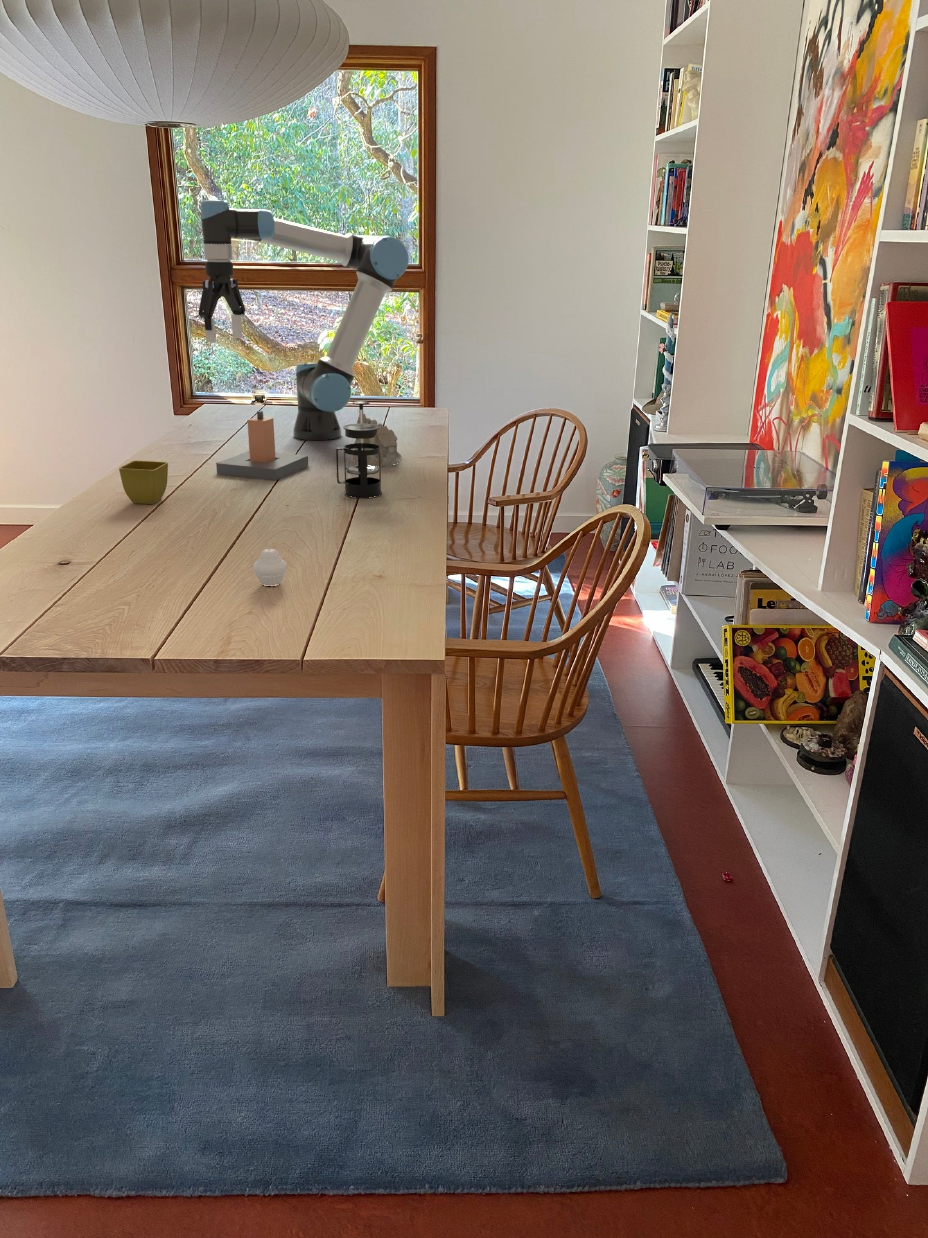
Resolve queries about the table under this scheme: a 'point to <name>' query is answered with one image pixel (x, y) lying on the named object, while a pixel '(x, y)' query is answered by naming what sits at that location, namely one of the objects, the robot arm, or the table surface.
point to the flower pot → (144, 480)
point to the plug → (261, 439)
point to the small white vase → (270, 567)
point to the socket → (262, 466)
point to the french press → (361, 460)
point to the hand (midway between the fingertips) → (224, 340)
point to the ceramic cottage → (380, 444)
